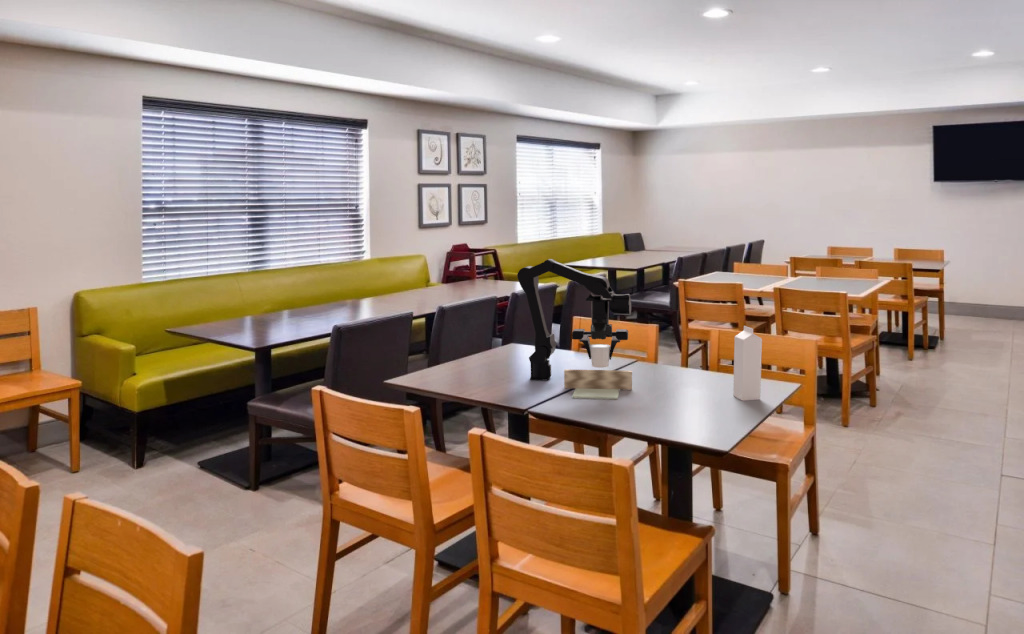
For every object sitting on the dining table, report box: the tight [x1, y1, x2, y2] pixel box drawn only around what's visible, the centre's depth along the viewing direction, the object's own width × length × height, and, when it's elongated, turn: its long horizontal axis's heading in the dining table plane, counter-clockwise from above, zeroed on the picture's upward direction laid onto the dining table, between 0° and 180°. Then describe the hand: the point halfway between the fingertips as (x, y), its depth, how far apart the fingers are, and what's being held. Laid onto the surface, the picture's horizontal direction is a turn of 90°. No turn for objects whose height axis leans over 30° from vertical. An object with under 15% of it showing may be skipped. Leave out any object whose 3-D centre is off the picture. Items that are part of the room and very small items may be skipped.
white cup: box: [590, 343, 611, 369], centre depth 247 cm, size 7×7×7 cm
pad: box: [572, 388, 620, 400], centre depth 230 cm, size 14×10×1 cm
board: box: [563, 368, 633, 391], centre depth 238 cm, size 22×2×6 cm, turn 79°
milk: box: [732, 325, 763, 402], centre depth 221 cm, size 6×6×22 cm
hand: (600, 359), depth 247 cm, fingers closed on white cup, 6 cm apart
